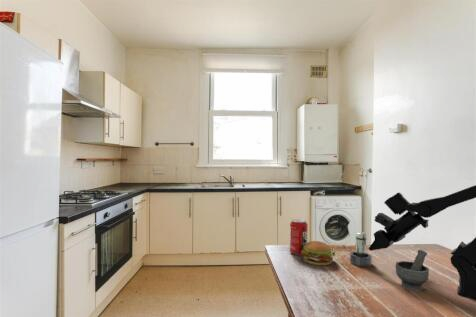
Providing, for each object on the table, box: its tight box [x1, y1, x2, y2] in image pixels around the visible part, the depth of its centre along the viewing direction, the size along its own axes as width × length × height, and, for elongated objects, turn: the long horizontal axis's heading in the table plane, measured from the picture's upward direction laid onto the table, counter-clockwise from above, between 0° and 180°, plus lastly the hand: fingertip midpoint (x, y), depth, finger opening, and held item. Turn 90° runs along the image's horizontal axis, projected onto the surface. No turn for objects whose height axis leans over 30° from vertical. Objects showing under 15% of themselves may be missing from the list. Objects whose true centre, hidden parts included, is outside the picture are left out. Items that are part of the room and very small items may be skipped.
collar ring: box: [349, 250, 373, 268], centre depth 114 cm, size 8×8×4 cm
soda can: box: [289, 218, 309, 256], centre depth 125 cm, size 8×8×15 cm
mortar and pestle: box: [395, 249, 430, 292], centre depth 94 cm, size 11×9×12 cm
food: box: [301, 240, 336, 267], centre depth 116 cm, size 14×14×8 cm
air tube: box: [355, 231, 367, 257], centre depth 114 cm, size 4×4×12 cm
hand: (374, 247), depth 110 cm, fingers open, 9 cm apart
